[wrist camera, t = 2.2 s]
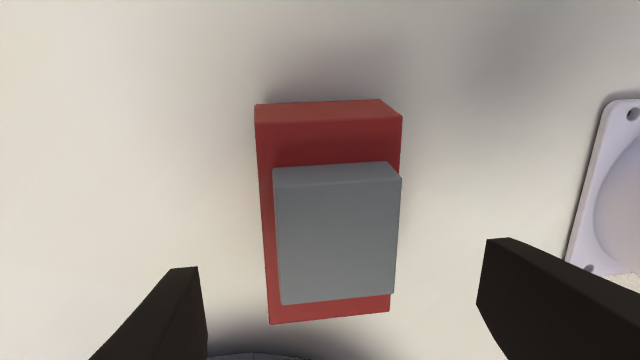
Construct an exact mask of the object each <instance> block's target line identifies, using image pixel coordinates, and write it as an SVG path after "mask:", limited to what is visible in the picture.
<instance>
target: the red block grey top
mask: <svg viewBox="0 0 640 360" xmlns="http://www.w3.org/2000/svg"><path fill="white" fill-rule="evenodd" d="M402 120H403V117H402V116H401V115H400V114H399V113H397V112H396V111H395V110H393V109H392V108H390V107H389V106H388V105H386V104H385V103H384V102H382V101H381V100H379V99H373V100H349V101H326V102H302V103H279V104H256V105H255V106H254V126H255V139H256V153H257V166H258V179H259V193H260V206H261V220H262V233H263V246H264V260H265V273H266V287H267V300H268V313H269V323H270V325H274V324H283V323H292V322H301V321H309V320H318V319H327V318H336V317H345V316H354V315H363V314H372V313H381V312H389V310H390V296H391V294H393V293H394V284H395V270H396V256H397V242H398V228H399V214H400V200H401V186H402V178H401V177H400V175H399V164H400V149H401V134H402Z"/></svg>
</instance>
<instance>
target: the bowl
mask: <svg viewBox="0 0 640 360" xmlns="http://www.w3.org/2000/svg"><path fill="white" fill-rule="evenodd" d="M206 360H308V359H303V358H296V357H288V356H280V355H271V354H263V353H253V352H248V353H240V354H232V355H223V356H215V357H207V358H206Z"/></svg>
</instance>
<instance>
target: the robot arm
mask: <svg viewBox="0 0 640 360" xmlns="http://www.w3.org/2000/svg"><path fill="white" fill-rule="evenodd" d="M630 110H631V112H630V114H629V116H628V117H627V114H628V112H629V111H630ZM630 273H634V274H635V275H637V276H638V277H640V99H625V100H615V101H612V102H611V103H609V104H608V105H607V106H606V107H605V109H604V111H603V113H602V117H601V121H600V125H599V128H598V132H597V136H596V140H595V144H594V148H593V152H592V155H591V159H590V163H589V167H588V171H587V175H586V179H585V183H584V186H583V190H582V194H581V198H580V202H579V206H578V210H577V214H576V217H575V221H574V225H573V229H572V233H571V237H570V241H569V245H568V248H567V252H566V256H565V260H562V259H560V258H557V257H555V256H553V255H551V254H549V253H546V252H544V251H542V250H540V249H537V248H535V247H533V246H531V245H528V244H526V243H523V242H521V241H518V240H515V239H512V238H509V237H507V238H497V239H487V241H486V247H485V253H484V259H483V265H482V271H481V277H480V283H479V289H478V295H477V300H476V305H477V307H478V309H479V311H480V313H481V315H482V317H483V319H484V321H485V323H486V325H487V327H488V329H489V331H490V332H491V334H492V336H493V338H494V340H495V341H496V343H497V344H498V346H499V347H500V349H501V350H502V351H503V353H504V354H505V356H506V357H507V359H508V360H640V294H639V293H637V292H635V291H632V290H630V289H627V288H625V287H622V286H620V285H618V284H615V283H613V282H611V281H609V280H606V279H604V278H602V276H611V275H621V274H630ZM207 341H208V332H207V326H206V319H205V312H204V306H203V299H202V292H201V286H200V279H199V272H198V266H196V267H185V268H174V269H170V270H169V271H168V272H167V273H166V274H165V276H164V277H163V278H162V279H161V280H160V281H159V282H158V284H157V285H156V286H155V287H154V288H153V290H152V291H151V292H150V293H149V294H148V296H147V297H146V298H145V299H144V300H143V301H142V303H141V304H140V305H139V306H138V307H137V308H136V310H135V311H134V312H133V313H132V314H131V315H130V316H129V317H128V318H127V320H126V321H125V322H124V323H123V324H122V325H121V326H120V327H119V328H118V330H117V331H116V332H115V333H114V334H113V335H112V336H111V337H110V338H109V339H108V340H107V341H106V342H105V343H104V344H103V345H102V346H101V347H100V348H99V349H98V350H97V351H96V352H95V353H94V354H93V355H92V357H91V358H90V359H89V360H206V356H207Z"/></svg>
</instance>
